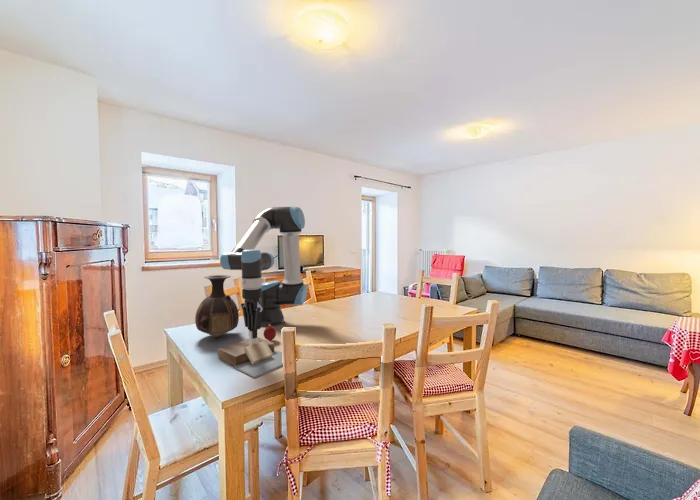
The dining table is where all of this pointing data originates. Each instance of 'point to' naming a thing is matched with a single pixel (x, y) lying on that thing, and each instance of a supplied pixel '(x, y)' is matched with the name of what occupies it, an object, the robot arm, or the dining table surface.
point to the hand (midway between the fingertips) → (253, 345)
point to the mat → (261, 365)
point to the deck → (239, 351)
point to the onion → (269, 333)
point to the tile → (258, 352)
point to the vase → (217, 310)
